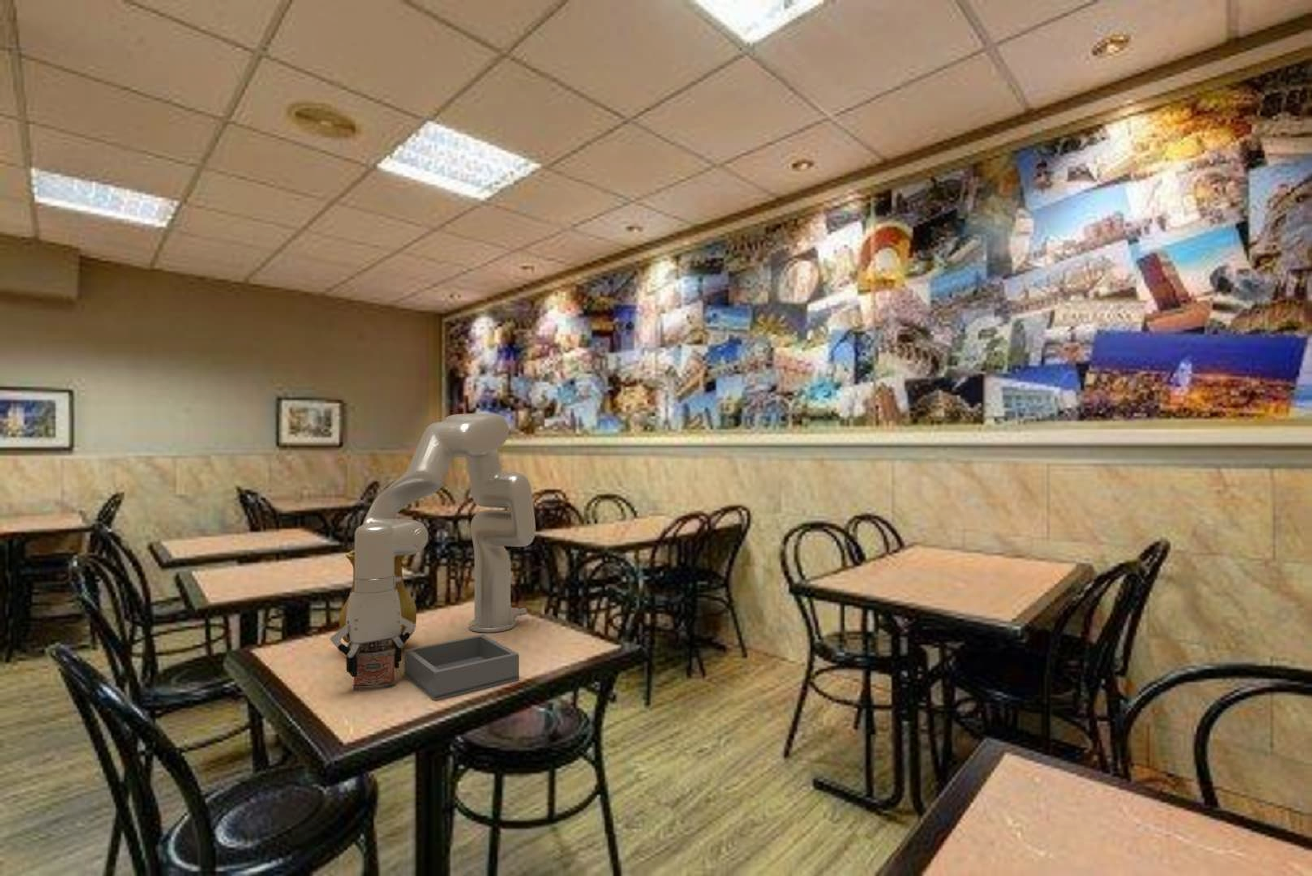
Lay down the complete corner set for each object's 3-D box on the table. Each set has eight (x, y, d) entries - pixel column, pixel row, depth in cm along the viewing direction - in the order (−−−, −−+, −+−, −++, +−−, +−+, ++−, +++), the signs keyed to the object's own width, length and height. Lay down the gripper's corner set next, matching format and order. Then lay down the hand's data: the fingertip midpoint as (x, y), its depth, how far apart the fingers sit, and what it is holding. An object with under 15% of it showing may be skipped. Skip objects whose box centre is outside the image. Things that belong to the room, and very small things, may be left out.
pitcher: (430, 639, 167) (425, 541, 166) (394, 668, 148) (388, 558, 147) (366, 639, 169) (360, 542, 167) (322, 667, 150) (316, 559, 149)
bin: (483, 658, 153) (483, 634, 154) (518, 680, 139) (519, 654, 139) (404, 675, 142) (404, 649, 142) (434, 701, 128) (434, 672, 128)
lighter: (351, 692, 133) (351, 642, 133) (354, 686, 136) (354, 637, 136) (394, 688, 135) (394, 639, 135) (396, 682, 138) (396, 634, 138)
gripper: (411, 576, 144) (411, 657, 144) (324, 587, 133) (323, 674, 133) (423, 582, 138) (423, 666, 138) (333, 594, 127) (332, 685, 127)
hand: (374, 670), depth 135 cm, fingers closed on lighter, 7 cm apart
